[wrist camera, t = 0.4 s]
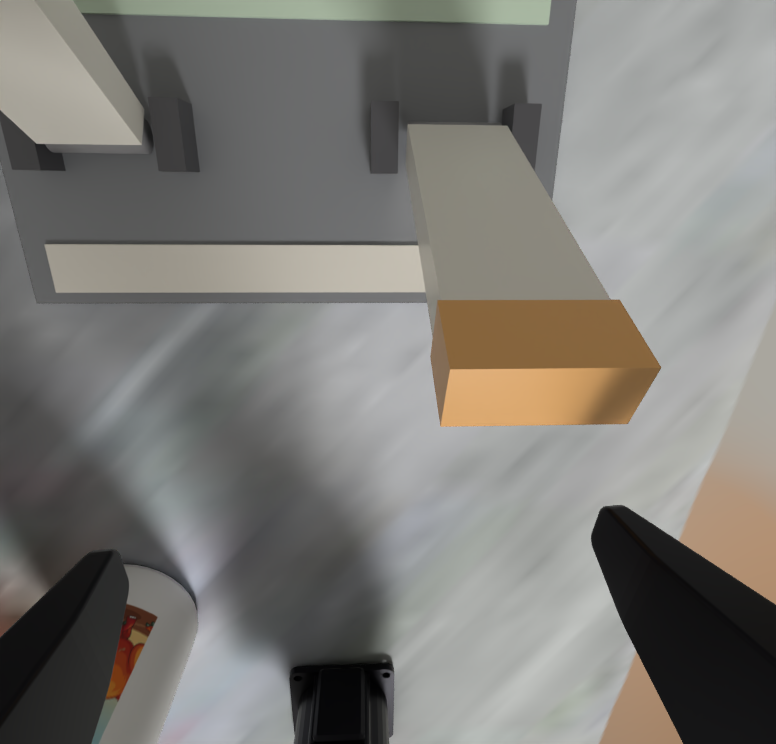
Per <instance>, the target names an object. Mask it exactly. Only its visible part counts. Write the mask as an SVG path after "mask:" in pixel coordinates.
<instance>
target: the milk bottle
mask: <svg viewBox="0 0 776 744" xmlns="http://www.w3.org/2000/svg"><path fill="white" fill-rule="evenodd" d="M123 565H124V568H125V570H126V573H127V576H128V579H129V593H128V599H127V604H126V608H125V613H124V618H123V623H122V628H121V633H120V638H119V643H118V648H117V653H116V658H115V662H114V667H113V672H112V676H111V681H110V685H109V689H108V692H107V696H106V699H105V702H104V706H103V709H102V712H101V715H100V718H99V721H98V725H97V728H96V731H95V734H94V737H93V740H92V744H157V742H158V740H159V737H160V734H161V731H162V729H163V726H164V723H165V721H166V718H167V715H168V713H169V710H170V707H171V704H172V702H173V699H174V696H175V694H176V691H177V688H178V686H179V683H180V680H181V677H182V675H183V672H184V669H185V666H186V664H187V661H188V658H189V655H190V653H191V650H192V647H193V644H194V641H195V638H196V635H197V631H198V615H197V610H196V607H195V603H194V601H193V600H192V598H191V596H190V594H189V593H188V592H187V591H186V590H185V589H184V588H183V586H182V585H180V584H179V583H178V582H176V581H175V580H174V579H173V578H171V577H169V576H167V575H165V574H164V573H162V572H160V571H157V570H154V569H151V568H149V567H144V566H139V565H130V564H123Z"/></svg>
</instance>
